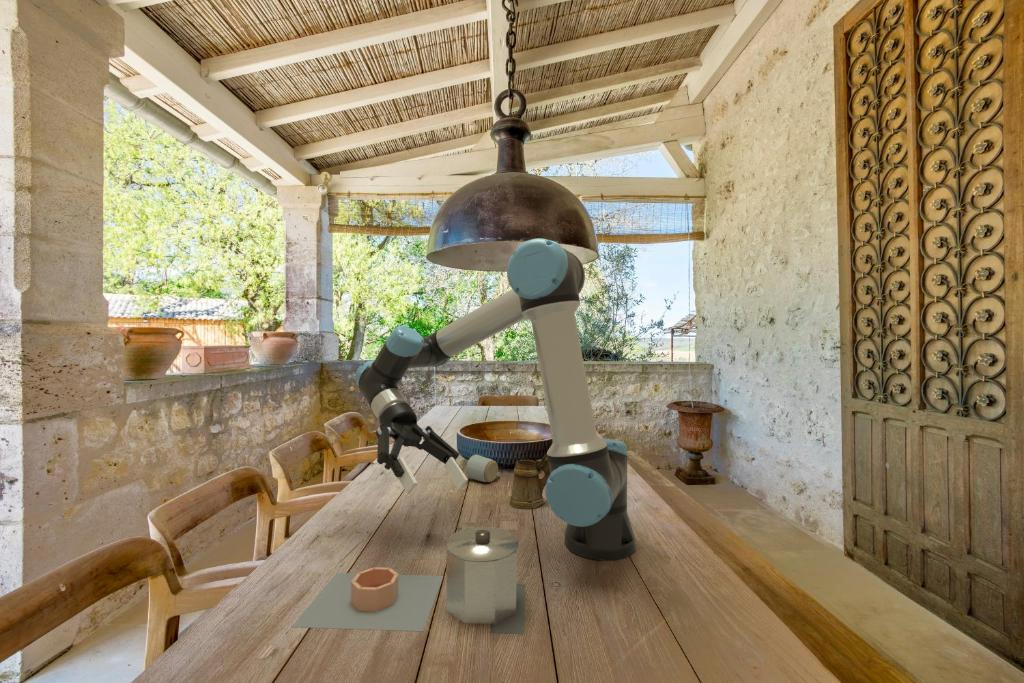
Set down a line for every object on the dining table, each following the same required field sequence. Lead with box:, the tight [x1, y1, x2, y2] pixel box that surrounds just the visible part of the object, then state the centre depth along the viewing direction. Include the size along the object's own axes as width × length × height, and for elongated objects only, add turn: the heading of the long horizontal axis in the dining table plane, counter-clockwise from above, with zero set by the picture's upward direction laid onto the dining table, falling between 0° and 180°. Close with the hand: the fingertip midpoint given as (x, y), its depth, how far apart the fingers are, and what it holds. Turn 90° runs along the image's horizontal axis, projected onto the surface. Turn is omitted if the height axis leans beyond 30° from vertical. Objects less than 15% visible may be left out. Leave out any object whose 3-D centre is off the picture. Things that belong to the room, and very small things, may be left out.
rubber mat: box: [489, 583, 526, 635], centre depth 75 cm, size 14×14×1 cm
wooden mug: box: [509, 453, 550, 510], centre depth 124 cm, size 9×14×18 cm, turn 76°
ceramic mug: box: [465, 454, 501, 483], centre depth 146 cm, size 11×8×8 cm
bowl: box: [351, 566, 399, 612], centre depth 76 cm, size 7×7×4 cm
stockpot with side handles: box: [445, 526, 519, 628], centre depth 75 cm, size 12×12×12 cm
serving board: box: [291, 572, 444, 633], centre depth 76 cm, size 20×16×1 cm
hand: (439, 486), depth 89 cm, fingers open, 13 cm apart
